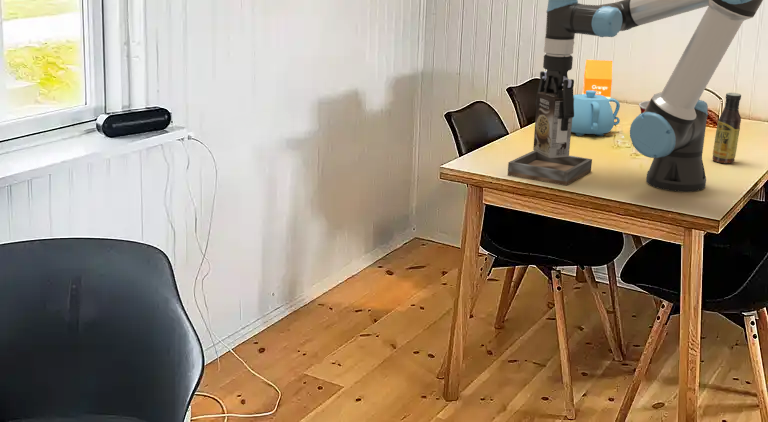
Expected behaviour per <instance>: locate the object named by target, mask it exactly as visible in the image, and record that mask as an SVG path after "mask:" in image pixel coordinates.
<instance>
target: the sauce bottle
mask: <svg viewBox="0 0 768 422" xmlns="http://www.w3.org/2000/svg"><path fill="white" fill-rule="evenodd" d="M741 99H742V94H741V93H738V92H727V93H726V94H725V103H724V107H723V110H722V112H721V114H720V116H719V117H718V120H717V125H716V132H715V137H714V144H713V150H712V160H713V161H714V162H716V163H719V164H732V163H735V158H736V156H737V150H738V149H737V148H738V143H739V136H740V132H741V131H740V130H741V123H742V117H741V114H740V112H739V109H740V102H741Z"/></svg>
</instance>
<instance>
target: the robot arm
mask: <svg viewBox="0 0 768 422" xmlns="http://www.w3.org/2000/svg"><path fill="white" fill-rule="evenodd" d="M763 1H764V0H620V1H616V2H610V3H604V4H598V5H597V4H583V3H579V0H548V1H547V6H546V7H547V10H546V11H545V12H546V26H545V37H544V49H543V50H544V51H543V52H544V53H545V54H544V55H543V63H542V66H543V69H544V71H540V72H539V82H538V88H537V93H538V92H545V93H555V94H556V96H557V98H563V101H561V102H560V107H559V114H560V116H559V117H558V125H557V137H556V142H557V143H563V142H567V130H568V120H569V118H572V117H574V97H573V95H574V85H575V80H574V79H572V78H569V77H568V72H569V71H572V70H573V61H574V59H573V58H574V56H573V55H572V54H574V45H575V37H576V36H575V35H576V34H577V35H578V34H580V35H586V36H595V37H599V38H614V37H617V36H618V33H619V32H624V31H629V30H631V29H632V28H637V27H639V26H642V25H646V24H650V23H652V22H653V23H654V22H656V21H659V20H664V19H666V18H672V17H674V16H678V15H681V14H685V13H688V12H689V13H690V12H691V11H694V10H699V9H701V8H702V9H703V8H706V10H705V12H704V14H703V16H702V17H701V19H700V21H699V23H698V25H697V26H696V29H695V30H694V33H693V34H692V36H691V38H690V40H689V41H688V43H687V45H686V47H685V48H684V50H683V52H682V53H681V57H680V59H678V62H677V64H676V66H675V67H674V69H673V71H672V73H671V75H670V77H669V78H668V80H667V82H666V84H665V86H664V88H663V89H662V91H661V92H657V93H653V95H652V97H651V98H650V100H649V101H650V102H649V104H648V106H647V108H646V109H645V111H644V113H641V112H640V113H639V114H638V115H637V116H636V117H635V118H634V119H633V120H632V122H631V124H630V128H629V137H630V140H631V144H632V146H633V147H634V148H635V150H636V151H637V152H638V153H640V154H641V155H642V156H645V157H647V158H650V159H651V158H652V159H653V160H652V162H651V164H650V167H649V169H648V171H647V172H646V179H645V182H646V184H648V185H650V186H651V187H653V188H657V189H659V190H660V189H661V190H664V191H672V192H681V193H682V192H683V193H684V192H685V193H686V192H687V193H689V192H698V191H702V190H703V189H706V185H707V177H706V170H705V167H704V162H703V151H704V143H705V137H706V128H707V121H708V120H707V119H708V116H709V113H708V107H709V105H708V103H707V102H706V101H705V100H702V99H701V97H702V95H703V93H704V91H705V90H706V88H707V86H708V84H709V82H710V81H711V80H712V77H713V75H714V74H715V72H716V70H717V68H718V67H719V65H720V63H721V62H722V59H723V57H724V56H725V54H726V53H727V51H728V49H729V47H730V45H731V44H732V42H733V40H734V38H735V37H736V35H737V33H738V32H739V29H740V28H741V26H742V24H743V22H744V21H746V20H747V21H748V20H750V19H753V18H754V17H755V15H756V14H757V11H758V9H759V8H760V6H761V5H762V3H763ZM545 70H546V71H545ZM535 98H536V99H535V105H536V104H537V97H535ZM563 113H564V114H563Z"/></svg>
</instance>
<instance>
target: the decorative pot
mask: <svg viewBox="0 0 768 422" xmlns="http://www.w3.org/2000/svg"><path fill="white" fill-rule="evenodd" d="M595 94H596V91H594V90H587V91H586V94H583V93H581V94H573V97H574V117H572V127H571V133H575V136H579V137H580V136H581V137H583V136H585V134H587V135H595V136H597V137H604V136H605V134H609V133H610V132H611V131H612V129H613V128H614V126H618V125H619V124H620V122H621V121H620V120H621V119H620V118H619V117H618V116H617V115H618V113H619V110H620V107H621V105H620V102H619V101H618V100H617V99H616V98H613V97H611V98H609V99H607V98H606V97H605V96H603V95H595ZM609 102H610V103H609ZM611 102H613V103H615V109H614V111H613V109H612V106H611ZM615 120H616V121H615Z"/></svg>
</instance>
